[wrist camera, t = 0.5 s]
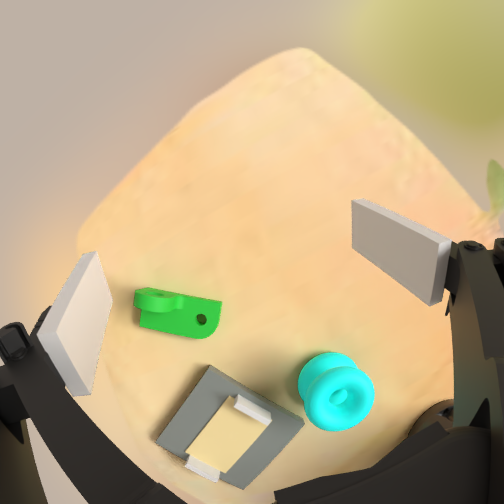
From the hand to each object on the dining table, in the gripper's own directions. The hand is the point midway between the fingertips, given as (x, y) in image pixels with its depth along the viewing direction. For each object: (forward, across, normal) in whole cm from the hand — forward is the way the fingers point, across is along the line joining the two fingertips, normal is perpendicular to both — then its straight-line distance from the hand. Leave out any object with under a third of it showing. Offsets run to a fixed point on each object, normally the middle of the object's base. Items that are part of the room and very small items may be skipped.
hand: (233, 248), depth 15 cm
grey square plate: (+18, +4, +40) cm, 44 cm away
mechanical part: (+28, +6, +21) cm, 36 cm away
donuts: (+18, -14, +33) cm, 40 cm away
